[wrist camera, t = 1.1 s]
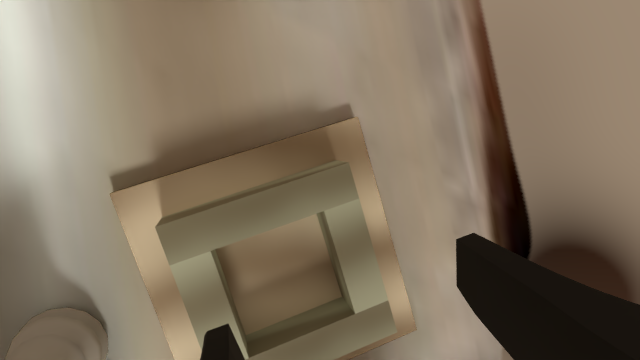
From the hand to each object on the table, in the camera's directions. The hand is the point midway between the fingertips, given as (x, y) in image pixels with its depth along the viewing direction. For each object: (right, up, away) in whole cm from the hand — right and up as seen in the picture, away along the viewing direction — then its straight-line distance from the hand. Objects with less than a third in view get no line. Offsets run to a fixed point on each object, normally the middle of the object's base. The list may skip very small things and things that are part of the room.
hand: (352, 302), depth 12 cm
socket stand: (-3, -1, +12) cm, 13 cm away
